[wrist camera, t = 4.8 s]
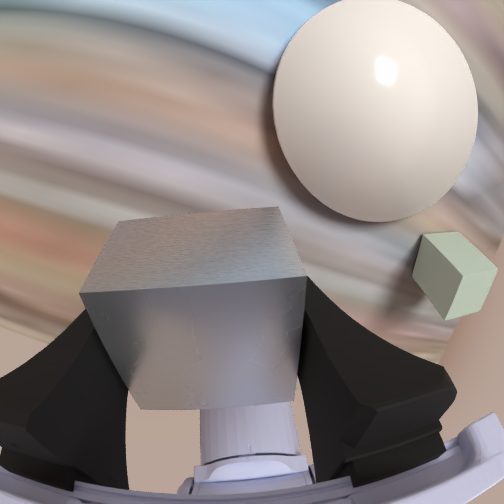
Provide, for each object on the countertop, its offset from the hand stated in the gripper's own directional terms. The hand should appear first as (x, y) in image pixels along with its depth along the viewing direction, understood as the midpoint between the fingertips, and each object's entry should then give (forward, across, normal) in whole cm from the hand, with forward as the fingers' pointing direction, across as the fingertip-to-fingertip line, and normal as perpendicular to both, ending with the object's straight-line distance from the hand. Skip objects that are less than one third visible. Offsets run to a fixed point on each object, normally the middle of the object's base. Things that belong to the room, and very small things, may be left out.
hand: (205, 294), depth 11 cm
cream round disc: (+7, -10, -6) cm, 13 cm away
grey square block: (+1, 0, 0) cm, 1 cm away
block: (+7, -16, +4) cm, 18 cm away
